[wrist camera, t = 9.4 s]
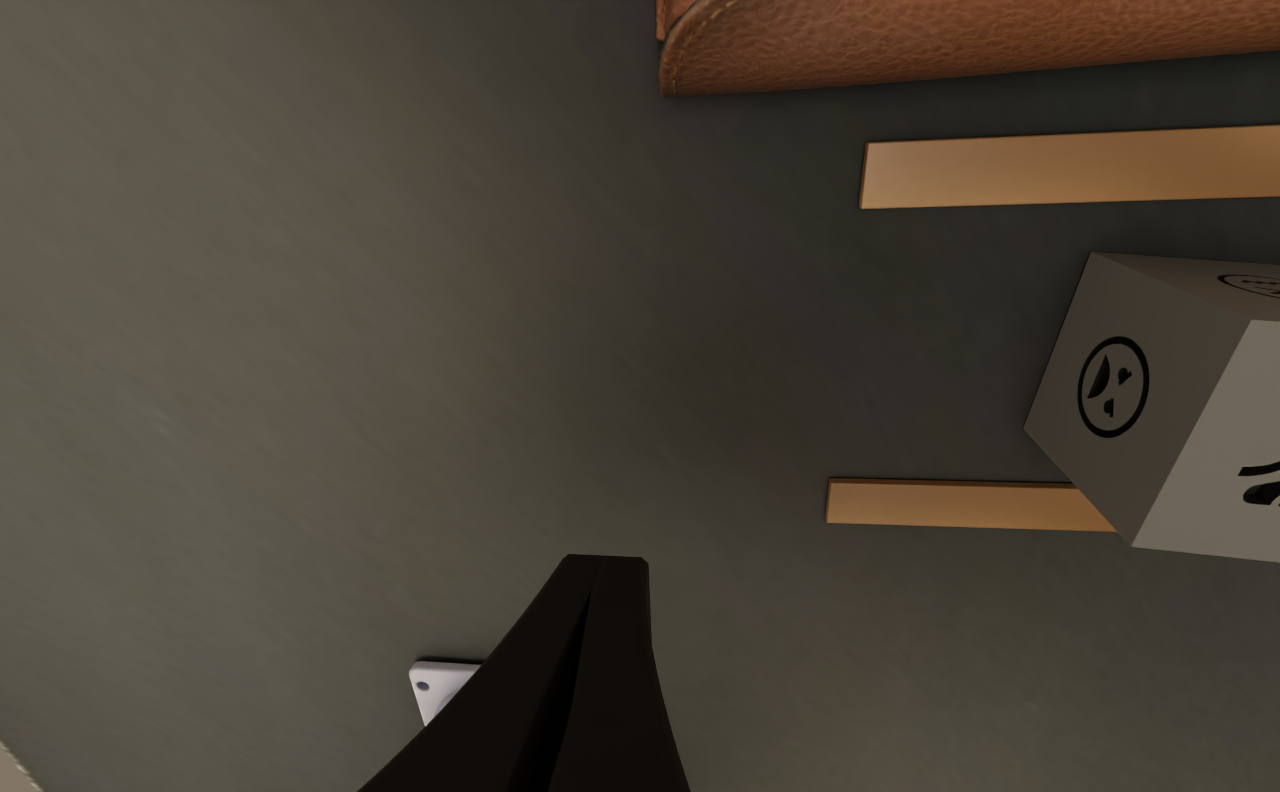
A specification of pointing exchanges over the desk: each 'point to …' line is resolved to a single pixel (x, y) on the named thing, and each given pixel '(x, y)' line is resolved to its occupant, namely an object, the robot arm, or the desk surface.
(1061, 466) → the dice cube
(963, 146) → the cork bay
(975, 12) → the sunglasses case
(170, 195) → the desk surface
